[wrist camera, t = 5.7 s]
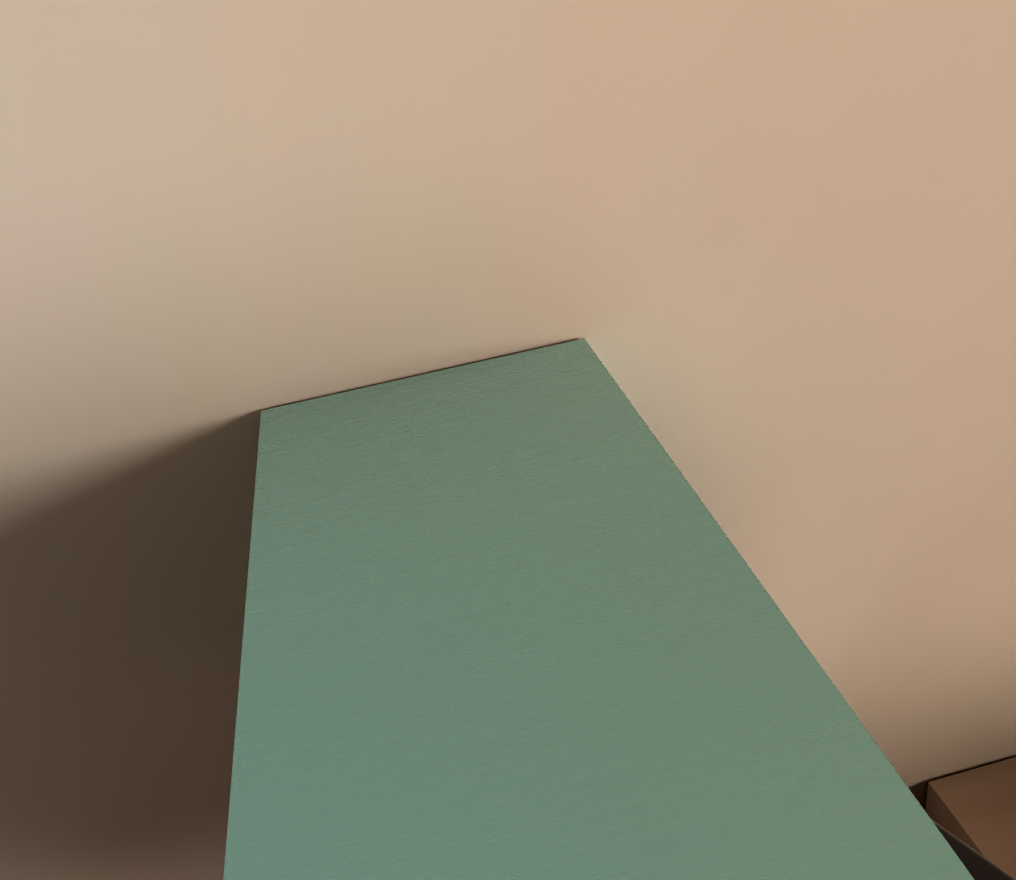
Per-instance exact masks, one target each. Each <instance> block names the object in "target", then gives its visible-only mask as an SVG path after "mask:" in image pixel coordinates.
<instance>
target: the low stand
mask: <svg viewBox="0 0 1016 880" xmlns="http://www.w3.org/2000/svg"><path fill="white" fill-rule="evenodd" d="M925 812H926V813H927V815H928V816H929V817H930V819H932V820H933V821H935V822H936V823H937V824H939V825H940V826H942V827H943V828H944V829H946V830H947V831H949V832H950V833H952V834H953V835H954V836H956V837H957V838H959V839H960V840H961V841H963V842H964V843H966V844H967V845H968V846H970V847H971V848H973V849H974V850H975V851H977V852H978V853H980V854H981V855H983V856H984V857H985V858H987V859H988V860H990V861H991V862H992V863H994V864H995V865H997V866H998V867H999V868H1001V869H1002V870H1004V871H1005V872H1006V873H1008V874H1009V875H1011V876H1012V877H1014V878H1015V879H1016V757H1014V758H1011V759H1007V760H1004V761H1000V762H997V763H993V764H990V765H986V766H983V767H979V768H976V769H973V770H969V771H966V772H962V773H959V774H955V775H952V776H948V777H945V778H941V779H938V780H934V781H931V782H929V783H928V792H927V800H926V809H925Z"/></svg>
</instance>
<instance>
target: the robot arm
mask: <svg viewBox="0 0 1016 880" xmlns="http://www.w3.org/2000/svg"><path fill="white" fill-rule="evenodd" d="M931 820H932V819H931ZM932 821H933V820H932ZM933 823H934V824H935V826H936V827H937V828H938V830H939V831H940V833H941V834H942V835H943V837H944V838H945V839H946V841H947V842H948V844H949V845H950V846H951V848H952V849H953V851H954V852H955V853H956V855H957V856H958V858H959V859H960V860H961V862H962V863H963V864H964V866H965V867H966V869H967V870H968V871H969V873H970V874H971V876H972V877H973V878H974V880H1016V879H1015V878H1014V877H1012V876H1011V875H1009V874H1008V873H1006V872H1005V871H1004V870H1002V869H1001V868H999V867H998V866H997V865H995V864H994V863H992V862H991V861H990V860H988V859H987V858H985V857H984V856H983V855H981V854H980V853H978V852H977V851H975V850H974V849H973V848H971V847H970V846H968V845H967V844H966V843H964V842H963V841H961V840H960V839H959V838H957V837H956V836H954V835H953V834H952V833H950V832H949V831H947V830H946V829H944V828H943V827H942V826H940V825H939V824H937V823H936V822H935V821H933Z"/></svg>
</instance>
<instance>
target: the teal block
mask: <svg viewBox="0 0 1016 880" xmlns="http://www.w3.org/2000/svg"><path fill="white" fill-rule="evenodd" d="M223 880H974V878H973V877H972V876H971V874H970V873H969V871H968V870H967V869H966V867H965V866H964V864H963V863H962V862H961V860H960V859H959V858H958V856H957V855H956V853H955V852H954V851H953V849H952V848H951V846H950V845H949V844H948V842H947V841H946V839H945V838H944V837H943V835H942V834H941V833H940V831H939V830H938V828H937V827H936V826H935V824H934V823H933V821H932V820H931V819H930V817H929V816H928V815H927V813H926V812H925V810H924V809H923V808H922V806H921V805H920V803H919V802H918V801H917V799H916V798H915V797H914V795H913V794H912V792H911V791H910V790H909V788H908V787H907V785H906V784H905V783H904V781H903V780H902V778H901V777H900V776H899V774H898V773H897V772H896V770H895V769H894V767H893V766H892V765H891V763H890V762H889V760H888V759H887V758H886V756H885V755H884V754H883V752H882V751H881V749H880V748H879V747H878V745H877V744H876V742H875V741H874V740H873V738H872V737H871V735H870V734H869V733H868V731H867V730H866V729H865V727H864V726H863V724H862V723H861V722H860V720H859V719H858V717H857V716H856V715H855V713H854V712H853V711H852V709H851V708H850V706H849V705H848V704H847V702H846V701H845V699H844V698H843V697H842V695H841V694H840V693H839V691H838V690H837V688H836V687H835V686H834V684H833V683H832V681H831V680H830V679H829V677H828V676H827V674H826V673H825V672H824V670H823V669H822V668H821V666H820V665H819V663H818V662H817V661H816V659H815V658H814V656H813V655H812V654H811V652H810V651H809V650H808V648H807V647H806V645H805V644H804V643H803V641H802V640H801V638H800V637H799V636H798V634H797V633H796V631H795V630H794V629H793V627H792V626H791V625H790V623H789V622H788V620H787V619H786V618H785V616H784V615H783V613H782V612H781V611H780V609H779V608H778V607H777V605H776V604H775V602H774V601H773V600H772V598H771V597H770V595H769V594H768V593H767V591H766V590H765V589H764V587H763V586H762V584H761V583H760V582H759V580H758V579H757V577H756V576H755V575H754V573H753V572H752V570H751V569H750V568H749V566H748V565H747V564H746V562H745V561H744V559H743V558H742V557H741V555H740V554H739V552H738V551H737V550H736V548H735V547H734V546H733V544H732V543H731V541H730V540H729V539H728V537H727V536H726V534H725V533H724V532H723V530H722V529H721V527H720V526H719V525H718V523H717V522H716V521H715V519H714V518H713V516H712V515H711V514H710V512H709V511H708V509H707V508H706V507H705V505H704V504H703V503H702V501H701V500H700V498H699V497H698V496H697V494H696V493H695V491H694V490H693V489H692V487H691V486H690V484H689V483H688V482H687V480H686V479H685V478H684V476H683V475H682V473H681V472H680V471H679V469H678V468H677V466H676V465H675V464H674V462H673V461H672V460H671V458H670V457H669V455H668V454H667V453H666V451H665V450H664V448H663V447H662V446H661V444H660V443H659V442H658V440H657V439H656V437H655V436H654V435H653V433H652V432H651V430H650V429H649V428H648V426H647V425H646V423H645V422H644V421H643V419H642V418H641V417H640V415H639V414H638V412H637V411H636V410H635V408H634V407H633V405H632V404H631V403H630V401H629V400H628V399H627V397H626V396H625V394H624V393H623V392H622V390H621V389H620V387H619V386H618V385H617V383H616V382H615V380H614V379H613V378H612V376H611V375H610V374H609V372H608V371H607V369H606V368H605V367H604V365H603V364H602V362H601V361H600V360H599V358H598V357H597V356H596V354H595V353H594V351H593V350H592V349H591V347H590V346H589V344H588V343H587V342H586V340H585V339H584V338H583V339H579V340H574V341H570V342H565V343H561V344H556V345H552V346H547V347H543V348H539V349H534V350H530V351H525V352H521V353H516V354H512V355H507V356H503V357H498V358H494V359H489V360H485V361H480V362H476V363H472V364H467V365H463V366H458V367H454V368H449V369H445V370H440V371H436V372H431V373H427V374H422V375H418V376H414V377H409V378H405V379H400V380H396V381H391V382H387V383H382V384H378V385H373V386H369V387H364V388H360V389H355V390H351V391H347V392H342V393H338V394H333V395H329V396H324V397H320V398H315V399H311V400H306V401H302V402H297V403H293V404H288V405H284V406H280V407H275V408H271V409H266V410H262V411H261V418H260V430H259V443H258V455H257V467H256V480H255V492H254V505H253V517H252V529H251V542H250V554H249V567H248V579H247V591H246V604H245V616H244V629H243V641H242V653H241V666H240V678H239V690H238V703H237V715H236V728H235V740H234V752H233V765H232V777H231V790H230V802H229V814H228V827H227V839H226V852H225V864H224V876H223Z"/></svg>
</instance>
